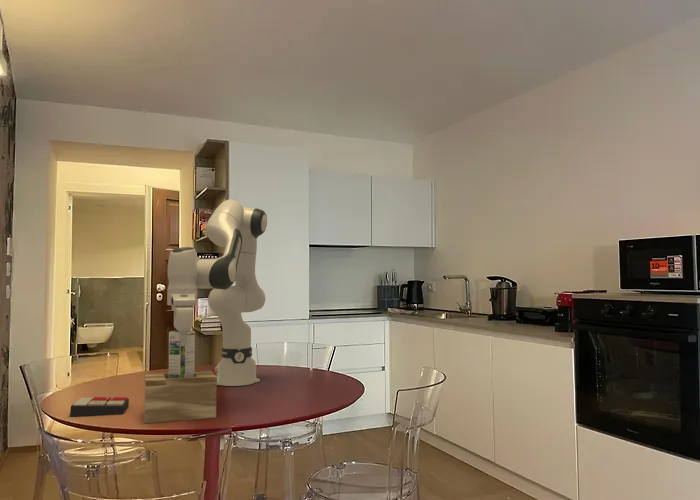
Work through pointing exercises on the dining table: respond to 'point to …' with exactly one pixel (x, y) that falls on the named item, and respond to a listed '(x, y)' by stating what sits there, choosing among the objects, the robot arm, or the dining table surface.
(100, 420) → the dining table surface
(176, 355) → the syrup box
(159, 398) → the posting box
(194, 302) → the robot arm
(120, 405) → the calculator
